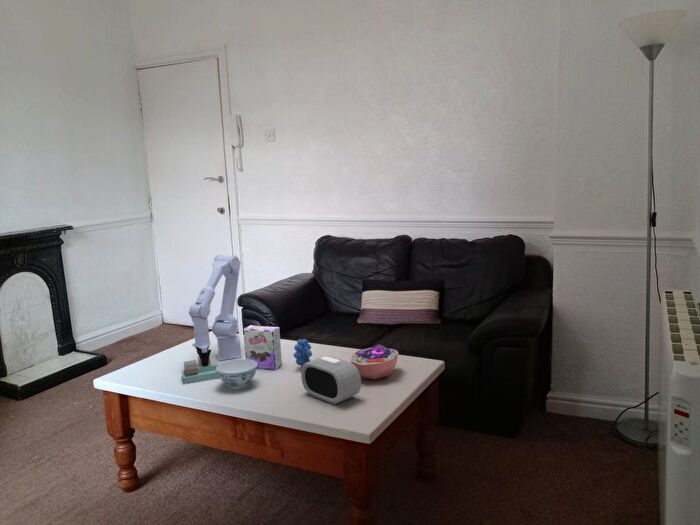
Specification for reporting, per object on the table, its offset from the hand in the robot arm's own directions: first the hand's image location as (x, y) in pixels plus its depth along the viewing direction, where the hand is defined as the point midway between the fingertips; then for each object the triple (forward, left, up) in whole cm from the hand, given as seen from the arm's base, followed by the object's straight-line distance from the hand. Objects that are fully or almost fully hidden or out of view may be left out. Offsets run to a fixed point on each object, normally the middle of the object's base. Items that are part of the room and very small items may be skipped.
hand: (204, 364), depth 235 cm
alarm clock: (-38, +52, -2) cm, 65 cm away
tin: (+6, +10, -1) cm, 12 cm away
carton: (0, 0, -1) cm, 1 cm away
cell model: (-59, +41, -2) cm, 72 cm away
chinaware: (-10, +26, -2) cm, 28 cm away
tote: (+2, +10, -1) cm, 11 cm away
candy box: (-23, +10, -2) cm, 25 cm away
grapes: (-38, +19, -2) cm, 42 cm away
